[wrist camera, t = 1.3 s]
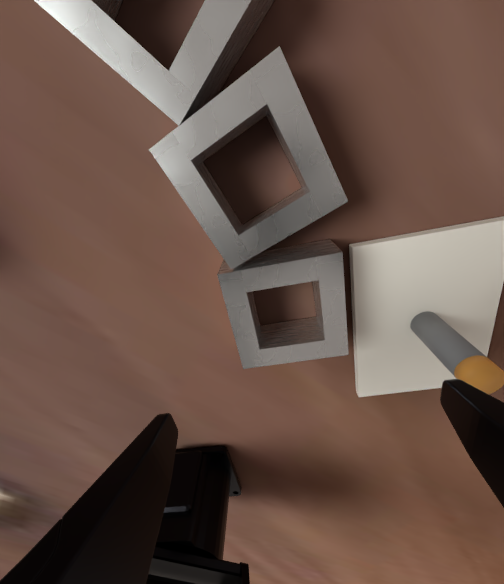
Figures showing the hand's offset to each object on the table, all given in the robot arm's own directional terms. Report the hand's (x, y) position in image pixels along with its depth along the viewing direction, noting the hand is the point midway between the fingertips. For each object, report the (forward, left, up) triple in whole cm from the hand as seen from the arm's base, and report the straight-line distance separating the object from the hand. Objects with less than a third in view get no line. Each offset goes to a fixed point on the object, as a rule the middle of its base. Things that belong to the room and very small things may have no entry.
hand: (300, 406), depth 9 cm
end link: (0, 0, -8) cm, 8 cm away
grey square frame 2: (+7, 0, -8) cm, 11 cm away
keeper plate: (-3, -8, -8) cm, 12 cm away
